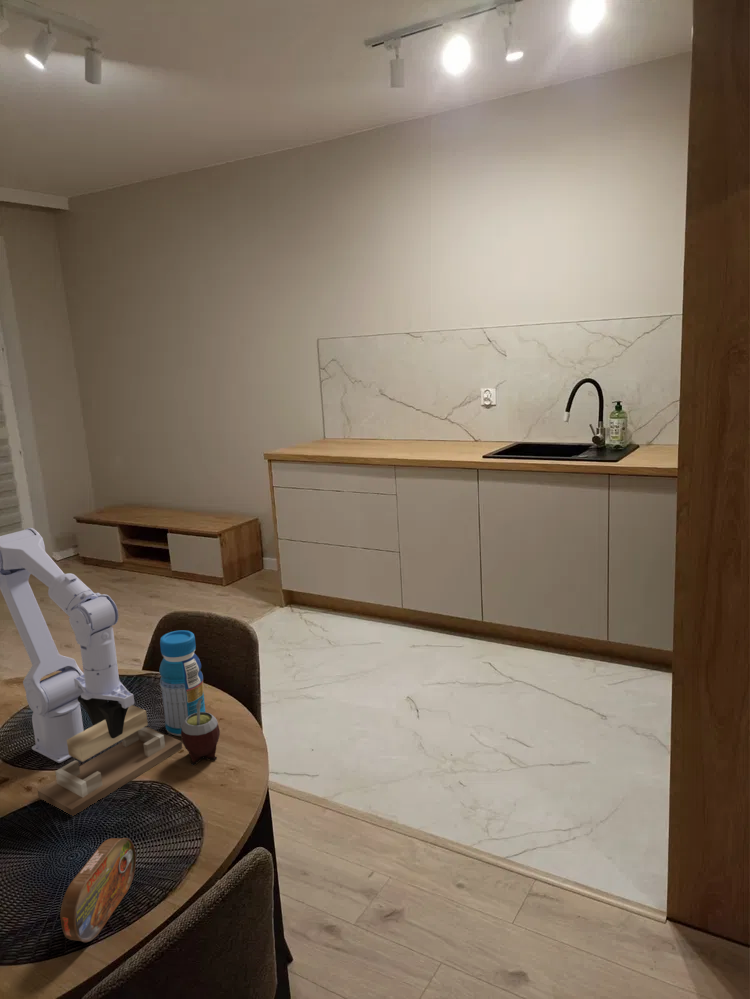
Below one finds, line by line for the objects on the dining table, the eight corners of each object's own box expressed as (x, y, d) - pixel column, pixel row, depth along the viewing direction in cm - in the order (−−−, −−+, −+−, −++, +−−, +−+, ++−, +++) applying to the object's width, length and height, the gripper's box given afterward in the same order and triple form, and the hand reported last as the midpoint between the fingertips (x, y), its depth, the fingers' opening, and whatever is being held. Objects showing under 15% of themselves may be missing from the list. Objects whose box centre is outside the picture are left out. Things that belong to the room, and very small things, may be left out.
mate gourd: (199, 743, 144) (192, 673, 140) (232, 751, 140) (226, 680, 137) (174, 763, 137) (166, 691, 134) (208, 773, 134) (201, 699, 130)
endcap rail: (38, 797, 128) (35, 777, 127) (148, 733, 148) (146, 715, 147) (72, 817, 123) (69, 796, 122) (182, 748, 142) (180, 729, 141)
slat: (68, 754, 129) (66, 739, 128) (134, 719, 140) (132, 705, 139) (82, 761, 127) (80, 746, 126) (147, 724, 138) (146, 710, 137)
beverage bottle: (164, 740, 145) (154, 648, 140) (166, 719, 153) (156, 630, 148) (207, 734, 147) (199, 642, 142) (207, 713, 155) (198, 625, 150)
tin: (82, 957, 95) (74, 903, 93) (60, 954, 96) (52, 900, 94) (140, 874, 110) (134, 825, 108) (121, 871, 110) (114, 823, 108)
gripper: (55, 662, 131) (65, 730, 134) (106, 683, 123) (115, 754, 126) (90, 648, 136) (98, 713, 139) (140, 666, 128) (148, 735, 131)
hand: (108, 731), depth 133 cm, fingers closed on slat, 4 cm apart
